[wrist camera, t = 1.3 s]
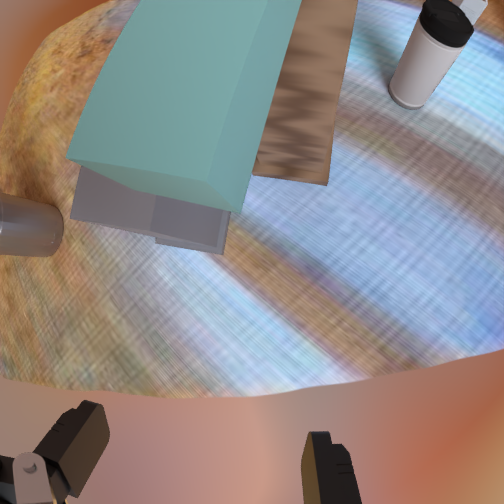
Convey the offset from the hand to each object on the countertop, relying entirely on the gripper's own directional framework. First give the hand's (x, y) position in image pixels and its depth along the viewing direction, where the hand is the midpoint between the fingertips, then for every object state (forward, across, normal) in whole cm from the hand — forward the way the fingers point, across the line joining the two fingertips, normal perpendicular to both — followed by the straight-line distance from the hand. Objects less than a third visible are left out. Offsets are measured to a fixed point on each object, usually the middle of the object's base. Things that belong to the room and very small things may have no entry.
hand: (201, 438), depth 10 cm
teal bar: (+5, +1, +20) cm, 20 cm away
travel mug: (+37, +22, +26) cm, 50 cm away
